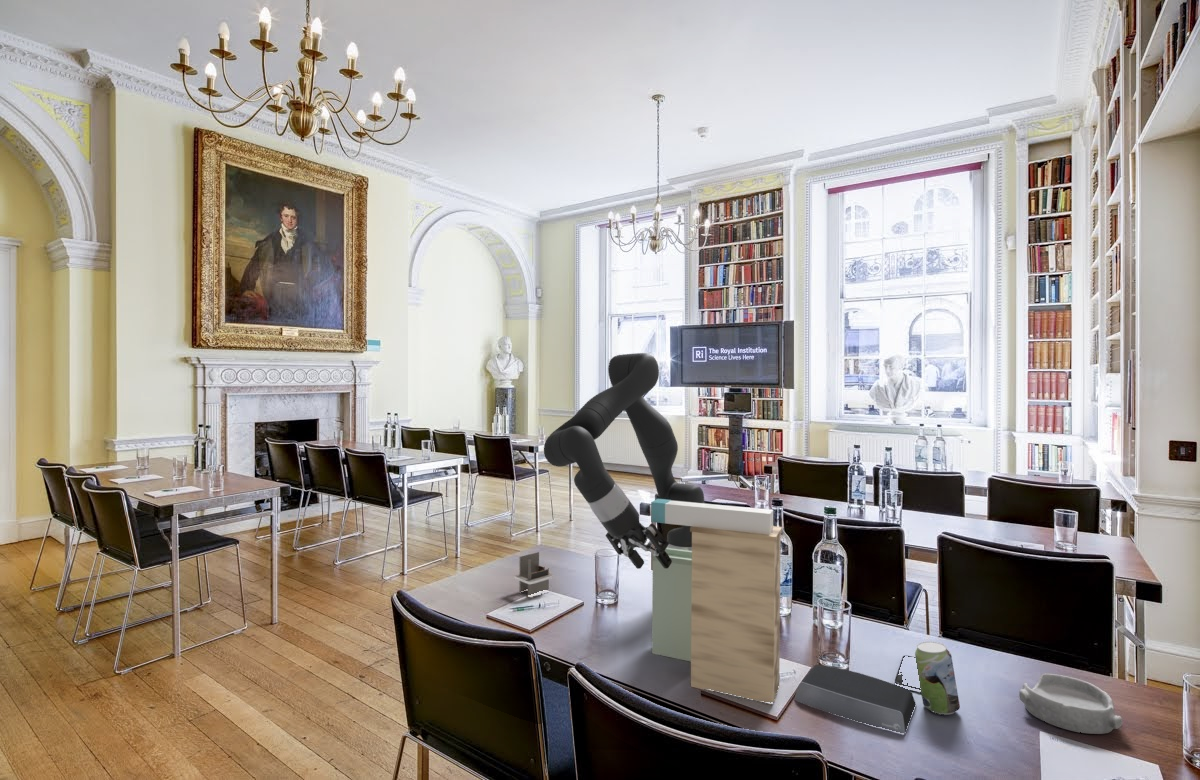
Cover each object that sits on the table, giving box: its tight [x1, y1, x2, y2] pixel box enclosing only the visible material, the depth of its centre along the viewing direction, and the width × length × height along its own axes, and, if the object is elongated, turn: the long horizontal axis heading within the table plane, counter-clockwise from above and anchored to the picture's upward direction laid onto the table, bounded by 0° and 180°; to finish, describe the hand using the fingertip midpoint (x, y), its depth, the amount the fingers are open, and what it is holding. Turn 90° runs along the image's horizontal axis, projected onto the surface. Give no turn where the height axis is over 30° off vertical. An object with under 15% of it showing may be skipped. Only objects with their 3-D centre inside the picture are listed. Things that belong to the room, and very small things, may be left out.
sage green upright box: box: [651, 548, 692, 662], centre depth 134 cm, size 7×12×22 cm, turn 65°
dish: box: [1018, 673, 1123, 735], centre depth 109 cm, size 14×14×5 cm
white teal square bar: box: [650, 498, 774, 535], centre depth 120 cm, size 4×24×4 cm, turn 65°
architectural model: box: [514, 551, 554, 595], centre depth 172 cm, size 19×17×11 cm
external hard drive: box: [794, 664, 917, 734], centre depth 113 cm, size 13×19×4 cm
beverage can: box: [914, 641, 961, 716], centre depth 111 cm, size 6×7×12 cm
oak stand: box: [690, 525, 783, 703], centre depth 119 cm, size 9×17×32 cm, turn 65°
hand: (654, 565), depth 128 cm, fingers open, 8 cm apart
